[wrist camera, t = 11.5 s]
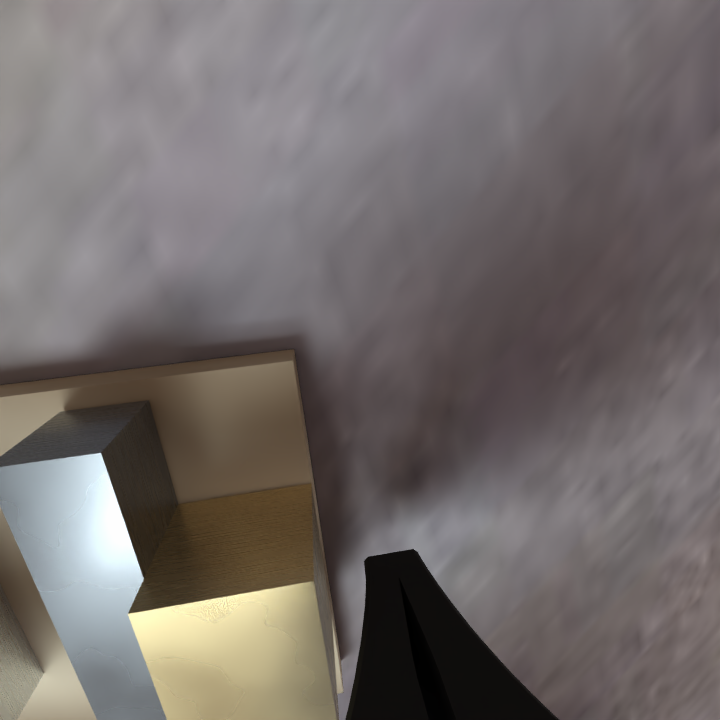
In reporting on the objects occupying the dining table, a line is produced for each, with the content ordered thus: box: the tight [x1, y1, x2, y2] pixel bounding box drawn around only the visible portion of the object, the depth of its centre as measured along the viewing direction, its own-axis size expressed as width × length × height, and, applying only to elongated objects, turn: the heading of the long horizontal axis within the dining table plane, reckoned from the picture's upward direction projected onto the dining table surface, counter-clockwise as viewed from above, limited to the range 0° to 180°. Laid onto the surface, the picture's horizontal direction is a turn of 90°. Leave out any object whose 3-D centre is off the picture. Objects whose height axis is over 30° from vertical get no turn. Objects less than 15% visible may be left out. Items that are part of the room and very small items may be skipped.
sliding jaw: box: [0, 400, 339, 720], centre depth 10 cm, size 11×6×3 cm, turn 5°
